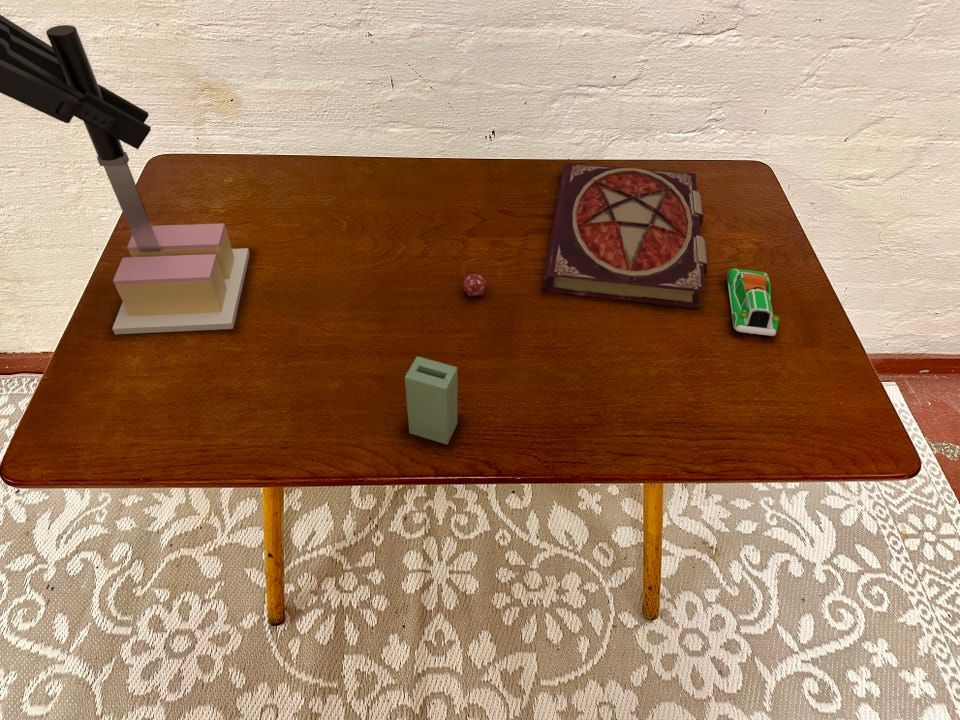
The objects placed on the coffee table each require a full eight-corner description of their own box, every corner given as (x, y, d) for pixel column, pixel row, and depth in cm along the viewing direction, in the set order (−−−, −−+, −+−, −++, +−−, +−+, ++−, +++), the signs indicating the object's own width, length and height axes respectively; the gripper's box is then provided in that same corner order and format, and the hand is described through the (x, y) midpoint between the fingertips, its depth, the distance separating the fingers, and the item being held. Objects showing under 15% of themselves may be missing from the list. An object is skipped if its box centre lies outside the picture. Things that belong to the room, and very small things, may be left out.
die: (489, 297, 89) (490, 279, 87) (468, 303, 88) (469, 286, 86) (479, 283, 91) (479, 266, 89) (458, 290, 90) (458, 272, 88)
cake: (233, 329, 84) (219, 287, 79) (114, 334, 83) (93, 293, 78) (250, 253, 94) (238, 213, 89) (144, 257, 93) (127, 217, 88)
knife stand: (447, 444, 72) (446, 389, 66) (409, 433, 73) (404, 377, 67) (457, 423, 74) (457, 367, 68) (420, 412, 75) (417, 355, 69)
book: (561, 180, 110) (564, 152, 106) (695, 192, 107) (703, 163, 104) (542, 294, 91) (544, 264, 87) (705, 312, 88) (714, 282, 84)
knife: (159, 257, 83) (72, 35, 64) (135, 258, 82) (40, 35, 63) (164, 244, 84) (80, 24, 66) (141, 245, 84) (50, 24, 65)
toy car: (774, 343, 84) (786, 317, 81) (731, 338, 85) (742, 312, 82) (762, 282, 92) (773, 256, 89) (723, 277, 93) (733, 252, 90)
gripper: (-135, -16, 63) (122, 124, 80) (-173, 51, 53) (129, 195, 70) (-103, -87, 61) (155, 73, 77) (-136, -31, 51) (167, 138, 67)
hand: (142, 130), depth 73 cm, fingers closed on knife, 3 cm apart
